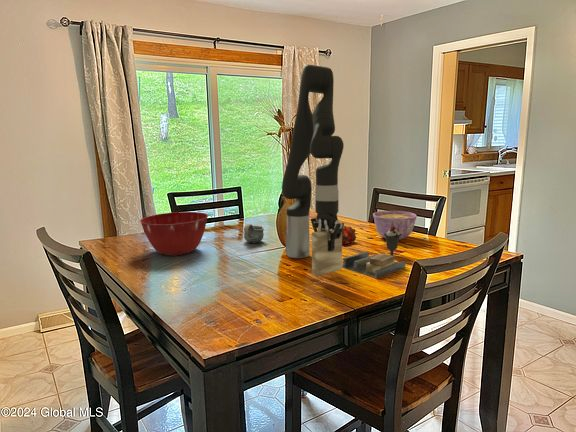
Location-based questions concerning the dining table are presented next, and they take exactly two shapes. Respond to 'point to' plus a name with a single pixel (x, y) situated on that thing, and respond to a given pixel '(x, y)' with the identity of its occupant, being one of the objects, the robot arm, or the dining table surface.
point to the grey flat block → (373, 268)
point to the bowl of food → (394, 222)
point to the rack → (360, 260)
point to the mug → (253, 233)
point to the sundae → (392, 239)
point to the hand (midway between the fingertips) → (327, 249)
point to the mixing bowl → (175, 231)
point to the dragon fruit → (348, 235)
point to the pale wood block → (325, 254)
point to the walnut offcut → (381, 259)
